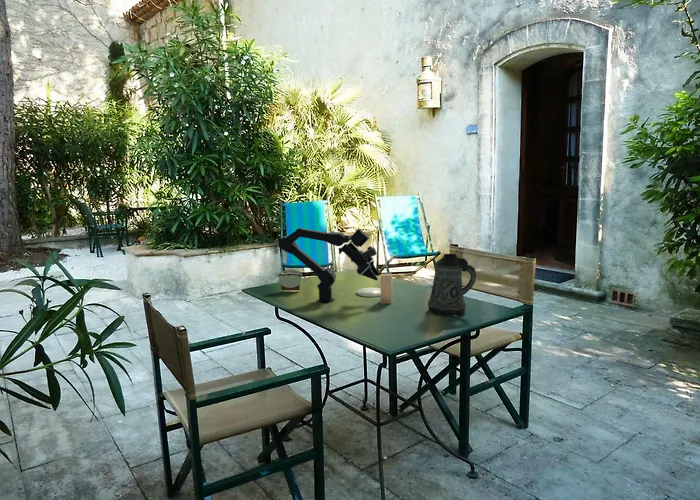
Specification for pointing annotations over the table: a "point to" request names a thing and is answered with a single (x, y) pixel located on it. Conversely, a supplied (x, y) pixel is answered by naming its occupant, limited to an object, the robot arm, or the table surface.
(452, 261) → the beer stein
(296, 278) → the food container
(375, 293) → the cream plate
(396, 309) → the table surface
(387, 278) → the tan tall block
